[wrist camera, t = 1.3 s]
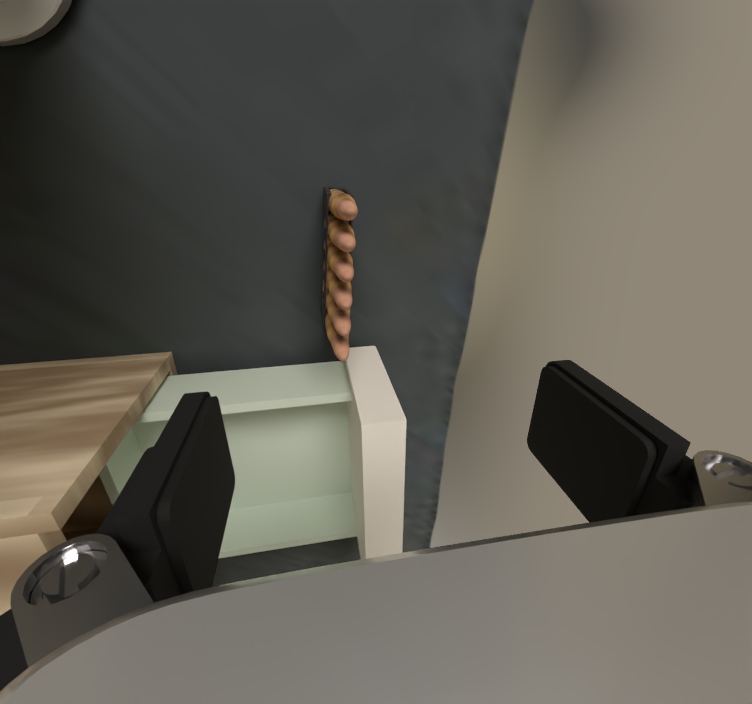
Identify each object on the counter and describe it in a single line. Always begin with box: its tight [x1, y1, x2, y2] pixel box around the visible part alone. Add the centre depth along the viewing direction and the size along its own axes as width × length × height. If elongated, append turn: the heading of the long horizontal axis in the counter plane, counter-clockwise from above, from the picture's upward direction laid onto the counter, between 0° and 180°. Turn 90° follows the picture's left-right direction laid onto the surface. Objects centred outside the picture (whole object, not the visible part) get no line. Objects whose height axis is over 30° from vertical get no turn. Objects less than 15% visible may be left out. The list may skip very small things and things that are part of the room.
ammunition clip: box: [321, 187, 358, 362], centre depth 27 cm, size 11×2×12 cm, turn 175°
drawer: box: [99, 346, 406, 560], centre depth 32 cm, size 19×24×12 cm
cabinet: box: [0, 352, 178, 615], centre depth 28 cm, size 20×22×18 cm
